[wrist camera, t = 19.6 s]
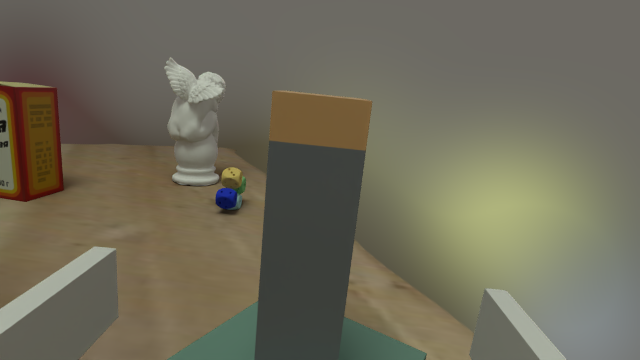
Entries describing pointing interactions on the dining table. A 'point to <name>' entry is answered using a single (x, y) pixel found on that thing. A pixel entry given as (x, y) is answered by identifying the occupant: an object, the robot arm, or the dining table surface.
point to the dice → (231, 189)
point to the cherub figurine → (194, 124)
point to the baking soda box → (29, 142)
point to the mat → (240, 336)
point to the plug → (309, 223)
